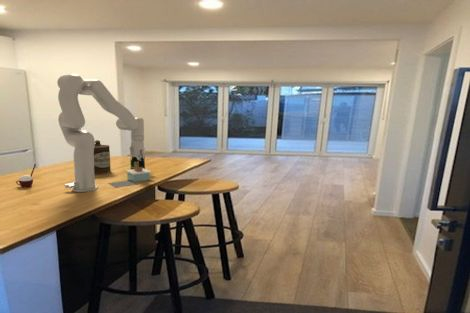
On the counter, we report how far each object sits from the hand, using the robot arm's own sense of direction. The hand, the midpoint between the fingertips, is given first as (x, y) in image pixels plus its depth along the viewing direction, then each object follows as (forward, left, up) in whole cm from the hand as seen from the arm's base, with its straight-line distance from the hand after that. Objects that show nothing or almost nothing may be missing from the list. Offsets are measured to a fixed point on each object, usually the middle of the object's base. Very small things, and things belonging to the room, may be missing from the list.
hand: (138, 165), depth 184 cm
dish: (0, 0, -9) cm, 9 cm away
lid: (0, 0, -4) cm, 4 cm away
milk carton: (+8, +19, -9) cm, 23 cm away
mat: (-12, -6, -9) cm, 16 cm away
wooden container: (-12, +37, -9) cm, 40 cm away
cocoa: (-55, +20, -9) cm, 59 cm away
